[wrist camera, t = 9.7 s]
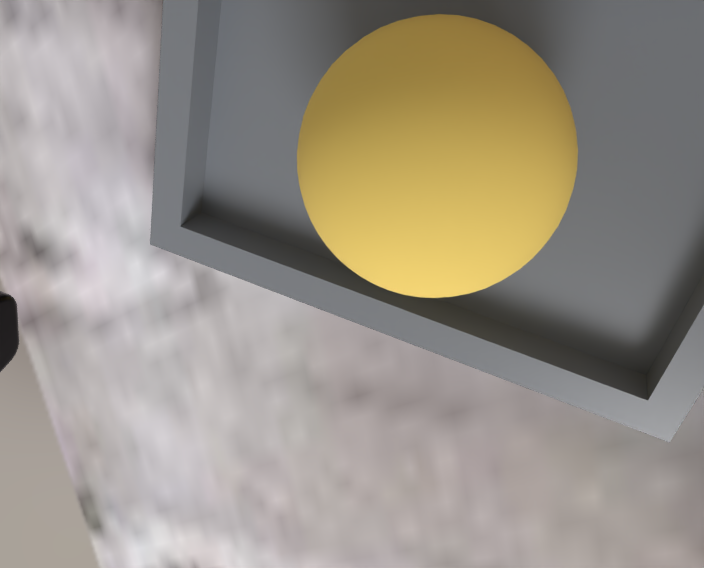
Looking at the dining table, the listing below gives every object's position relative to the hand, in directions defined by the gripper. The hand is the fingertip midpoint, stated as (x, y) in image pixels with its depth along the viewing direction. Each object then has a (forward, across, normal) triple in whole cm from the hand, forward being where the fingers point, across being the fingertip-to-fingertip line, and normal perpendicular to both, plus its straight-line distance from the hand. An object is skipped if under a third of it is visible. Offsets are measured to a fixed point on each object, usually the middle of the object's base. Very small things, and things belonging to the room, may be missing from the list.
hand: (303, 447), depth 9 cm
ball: (+8, +1, -1) cm, 8 cm away
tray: (+12, +1, -1) cm, 12 cm away
